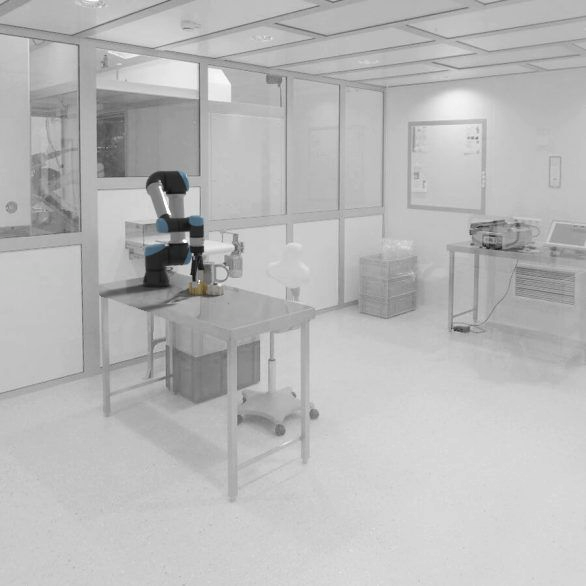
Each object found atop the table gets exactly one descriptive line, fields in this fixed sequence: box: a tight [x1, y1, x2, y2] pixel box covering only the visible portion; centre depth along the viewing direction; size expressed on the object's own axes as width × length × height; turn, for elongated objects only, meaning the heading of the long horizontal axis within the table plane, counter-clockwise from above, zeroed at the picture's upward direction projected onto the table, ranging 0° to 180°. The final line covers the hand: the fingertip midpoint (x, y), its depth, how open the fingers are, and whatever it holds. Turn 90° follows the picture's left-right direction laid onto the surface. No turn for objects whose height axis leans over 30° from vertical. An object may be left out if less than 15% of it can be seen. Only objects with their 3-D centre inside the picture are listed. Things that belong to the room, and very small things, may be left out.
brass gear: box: [188, 281, 207, 296], centre depth 350 cm, size 9×9×6 cm
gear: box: [206, 282, 225, 296], centre depth 349 cm, size 9×9×6 cm
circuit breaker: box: [203, 261, 217, 286], centre depth 368 cm, size 8×14×15 cm, turn 174°
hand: (197, 284), depth 350 cm, fingers open, 13 cm apart
